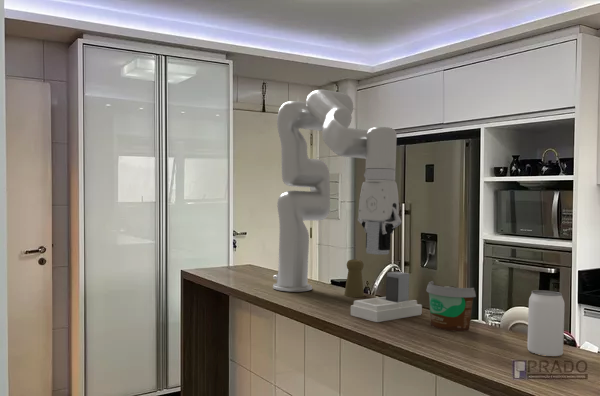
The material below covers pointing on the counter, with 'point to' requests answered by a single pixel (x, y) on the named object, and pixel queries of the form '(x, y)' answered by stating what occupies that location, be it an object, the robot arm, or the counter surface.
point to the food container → (450, 307)
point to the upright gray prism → (374, 238)
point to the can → (546, 323)
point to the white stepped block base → (389, 301)
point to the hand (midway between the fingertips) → (377, 248)
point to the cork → (354, 279)
